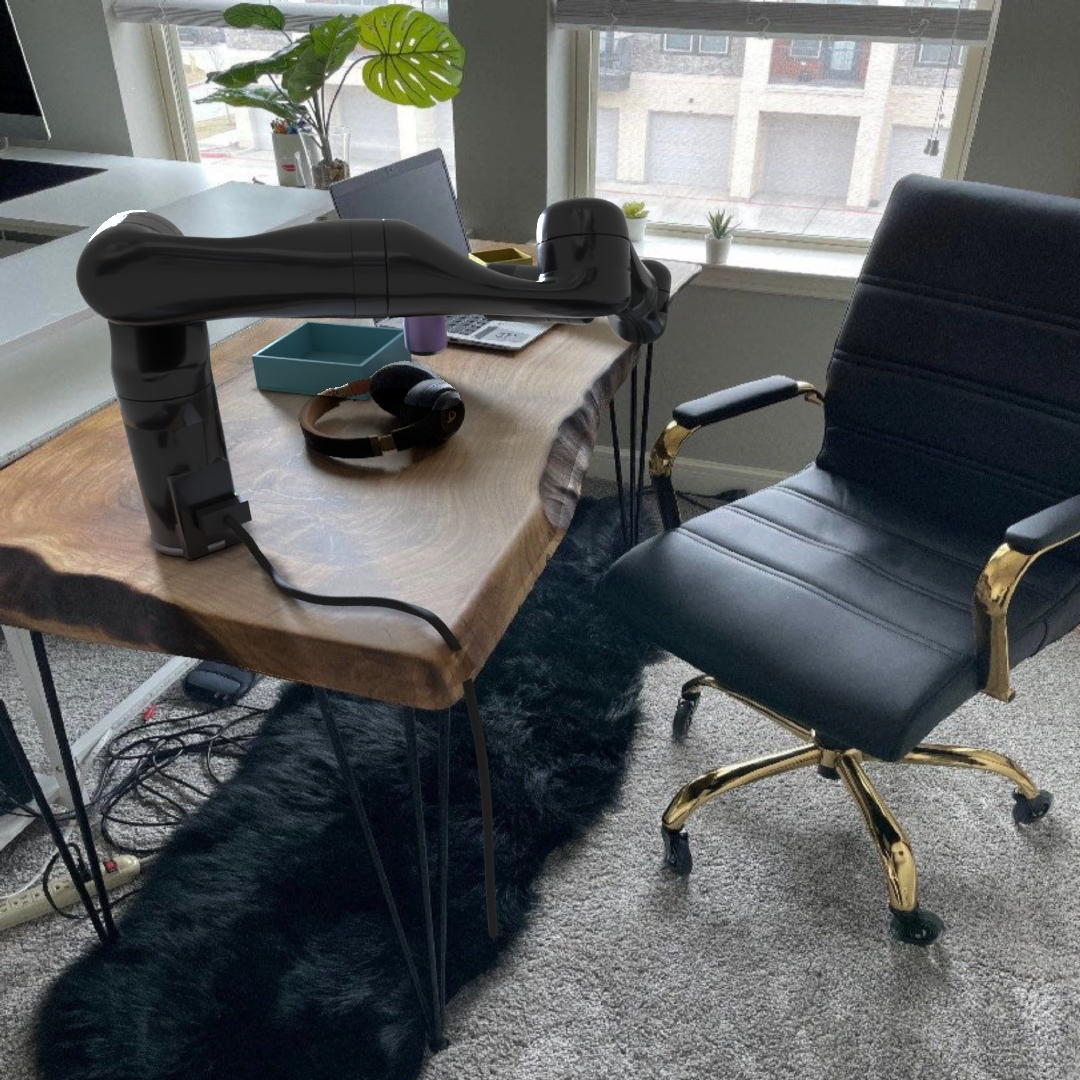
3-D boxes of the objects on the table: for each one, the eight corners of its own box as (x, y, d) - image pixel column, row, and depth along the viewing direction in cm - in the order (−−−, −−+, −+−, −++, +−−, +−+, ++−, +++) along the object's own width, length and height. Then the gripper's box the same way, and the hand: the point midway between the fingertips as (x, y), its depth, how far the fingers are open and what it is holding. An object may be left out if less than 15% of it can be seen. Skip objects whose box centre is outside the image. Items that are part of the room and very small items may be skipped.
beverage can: (441, 358, 138) (433, 248, 130) (400, 356, 139) (389, 247, 131) (452, 344, 143) (445, 238, 135) (413, 342, 144) (404, 236, 136)
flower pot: (470, 303, 177) (467, 252, 172) (515, 296, 180) (513, 246, 175) (489, 316, 170) (486, 263, 165) (535, 309, 173) (534, 257, 168)
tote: (411, 361, 152) (409, 329, 149) (366, 400, 138) (362, 366, 136) (311, 351, 156) (306, 320, 154) (257, 389, 143) (251, 356, 140)
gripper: (504, 337, 128) (385, 328, 133) (537, 305, 140) (426, 298, 145) (502, 280, 125) (379, 272, 129) (535, 252, 137) (422, 246, 141)
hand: (404, 286), depth 137 cm, fingers closed on beverage can, 5 cm apart
